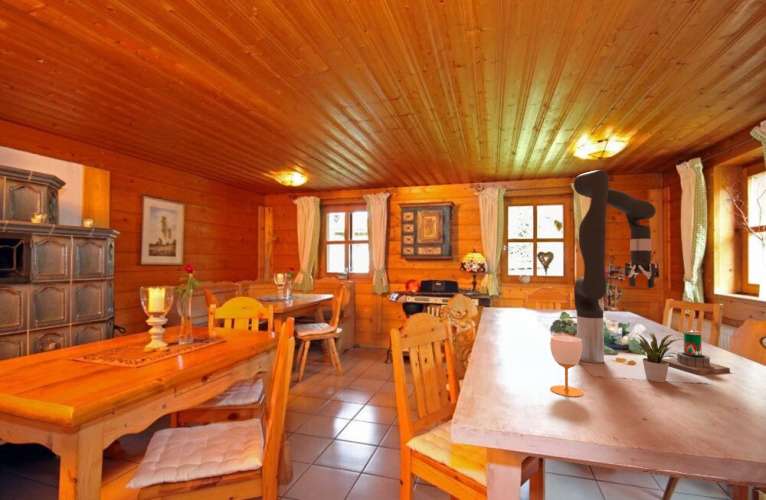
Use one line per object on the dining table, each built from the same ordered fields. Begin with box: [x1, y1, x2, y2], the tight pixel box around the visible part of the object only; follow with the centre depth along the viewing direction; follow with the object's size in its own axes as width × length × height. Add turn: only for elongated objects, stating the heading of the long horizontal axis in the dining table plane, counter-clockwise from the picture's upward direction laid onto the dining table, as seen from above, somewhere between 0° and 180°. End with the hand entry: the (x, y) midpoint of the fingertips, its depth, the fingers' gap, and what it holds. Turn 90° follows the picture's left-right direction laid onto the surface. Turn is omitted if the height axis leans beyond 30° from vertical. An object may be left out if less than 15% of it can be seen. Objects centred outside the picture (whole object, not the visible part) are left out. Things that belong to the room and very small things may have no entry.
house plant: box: [634, 330, 685, 383], centre depth 119 cm, size 14×14×16 cm
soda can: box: [682, 329, 703, 358], centre depth 133 cm, size 5×5×12 cm
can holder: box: [662, 351, 731, 376], centre depth 133 cm, size 14×14×4 cm
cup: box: [549, 335, 584, 398], centre depth 109 cm, size 9×9×16 cm
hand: (641, 287), depth 154 cm, fingers open, 8 cm apart
